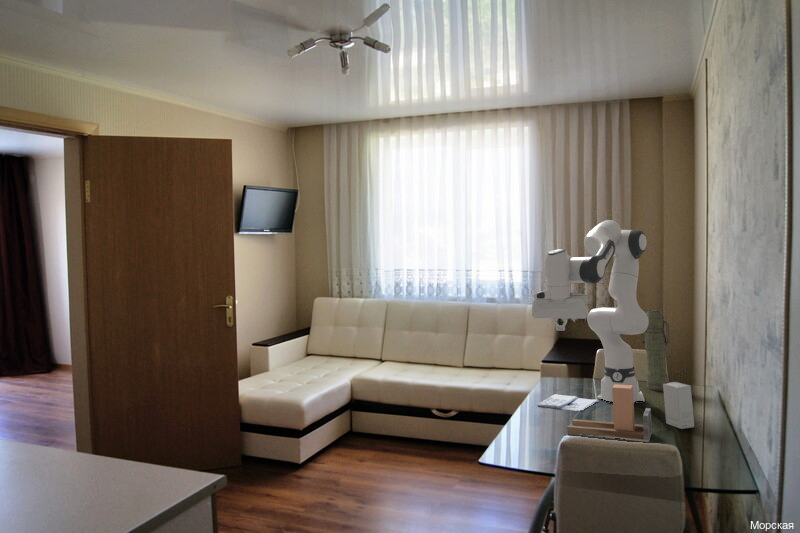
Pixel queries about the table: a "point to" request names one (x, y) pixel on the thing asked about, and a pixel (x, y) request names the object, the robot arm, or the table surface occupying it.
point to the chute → (608, 429)
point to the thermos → (656, 350)
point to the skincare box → (678, 405)
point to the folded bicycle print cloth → (567, 402)
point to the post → (623, 407)
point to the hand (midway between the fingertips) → (560, 330)
